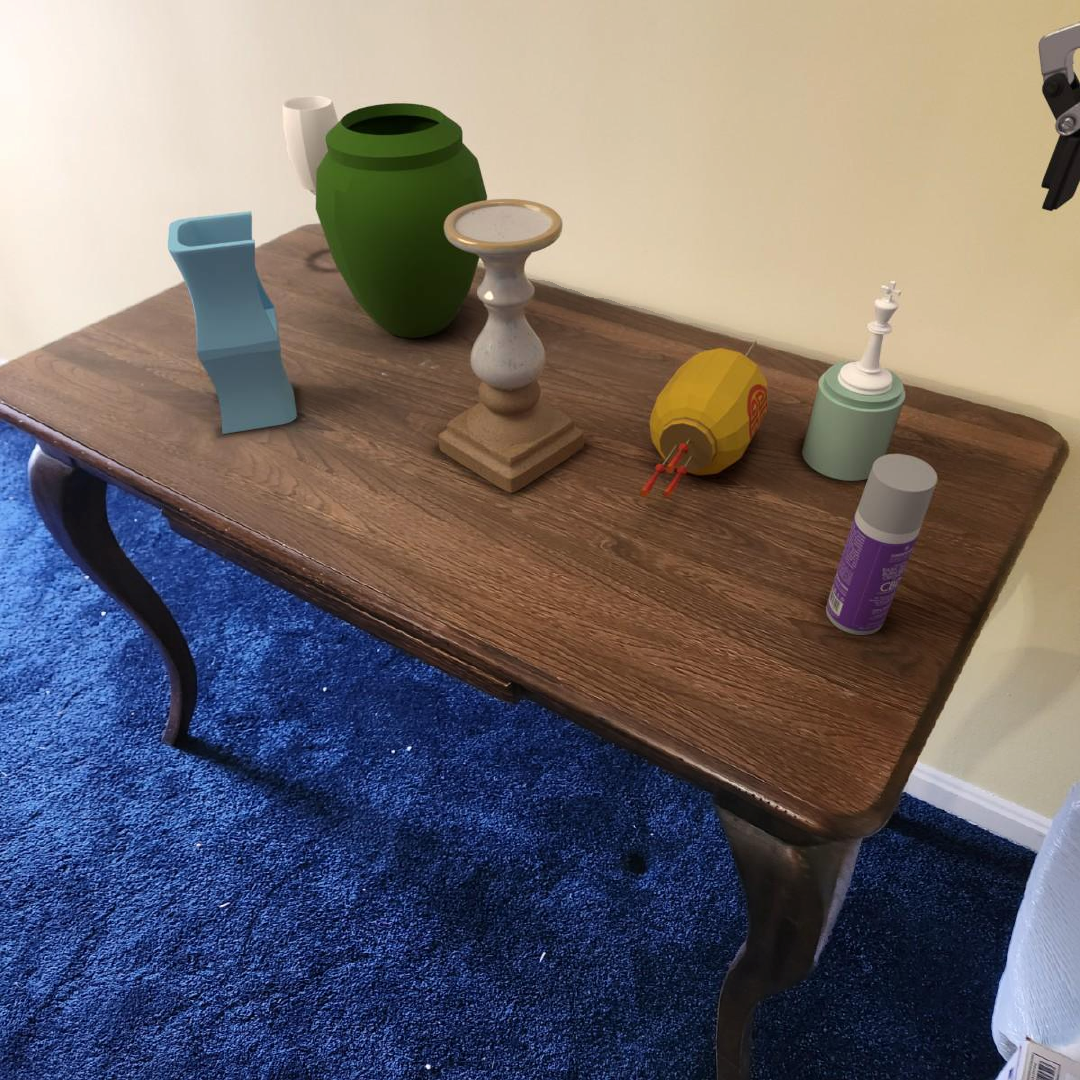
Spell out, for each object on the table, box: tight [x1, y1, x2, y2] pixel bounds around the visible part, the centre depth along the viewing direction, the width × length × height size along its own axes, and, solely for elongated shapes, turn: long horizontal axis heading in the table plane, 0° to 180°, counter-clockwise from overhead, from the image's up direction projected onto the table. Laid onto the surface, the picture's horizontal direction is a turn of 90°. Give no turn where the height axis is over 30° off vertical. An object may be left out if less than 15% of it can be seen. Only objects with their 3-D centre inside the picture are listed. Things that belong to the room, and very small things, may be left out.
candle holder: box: [438, 198, 585, 494], centre depth 81 cm, size 11×11×24 cm
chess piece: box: [838, 280, 902, 395], centre depth 78 cm, size 5×5×10 cm
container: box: [825, 453, 938, 636], centre depth 67 cm, size 5×5×15 cm
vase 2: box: [167, 210, 298, 435], centre depth 88 cm, size 8×8×20 cm
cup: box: [282, 95, 339, 196], centre depth 116 cm, size 7×7×21 cm
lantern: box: [639, 340, 769, 499], centre depth 85 cm, size 10×10×30 cm
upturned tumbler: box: [801, 360, 906, 482], centre depth 85 cm, size 8×8×9 cm
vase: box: [315, 102, 488, 339], centre depth 101 cm, size 20×20×24 cm
